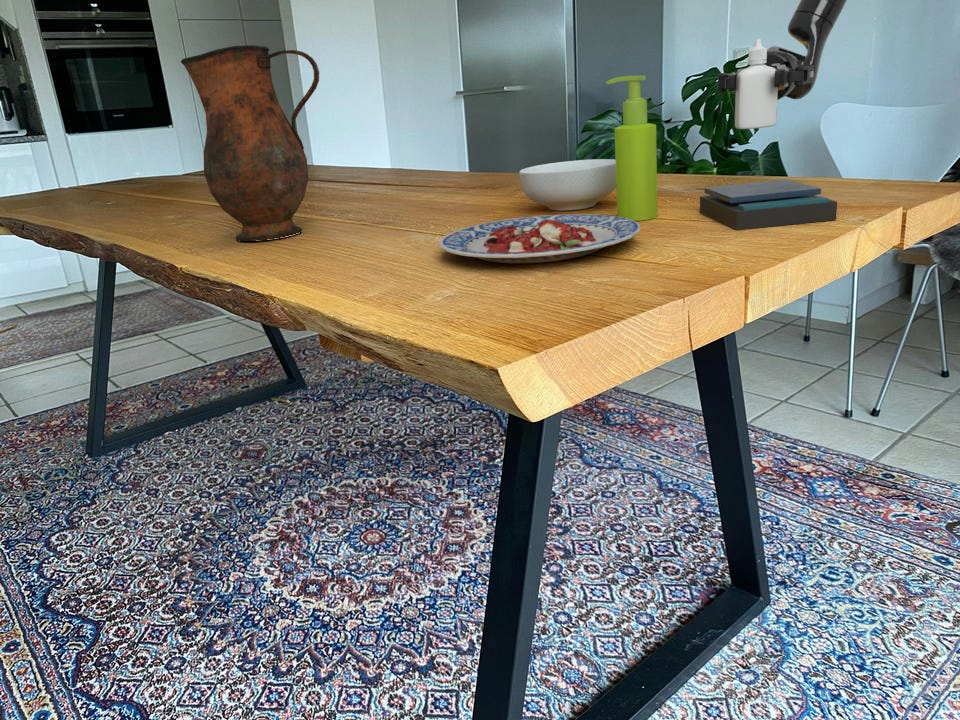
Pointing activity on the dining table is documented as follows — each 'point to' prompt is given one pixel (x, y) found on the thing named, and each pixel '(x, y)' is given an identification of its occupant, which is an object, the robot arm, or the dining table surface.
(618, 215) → the soap dispenser
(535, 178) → the cereal bowl
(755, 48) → the eye dropper bottle
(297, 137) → the pitcher
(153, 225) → the dining table surface
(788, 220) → the scale
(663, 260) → the dining table surface
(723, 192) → the scale plate
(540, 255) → the ceramic plate
